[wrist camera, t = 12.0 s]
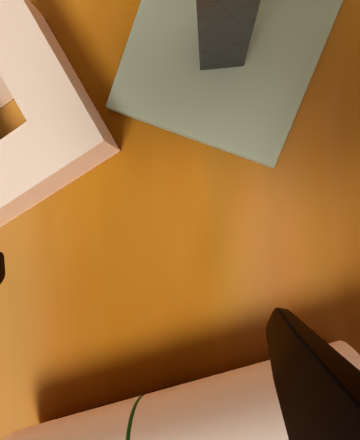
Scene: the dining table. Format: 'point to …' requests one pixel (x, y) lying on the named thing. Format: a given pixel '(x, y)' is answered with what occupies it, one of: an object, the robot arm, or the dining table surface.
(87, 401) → the dining table surface
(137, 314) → the dining table surface
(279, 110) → the pad
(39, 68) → the socket block
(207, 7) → the t key
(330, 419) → the robot arm
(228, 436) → the cylindrical container
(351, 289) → the dining table surface
